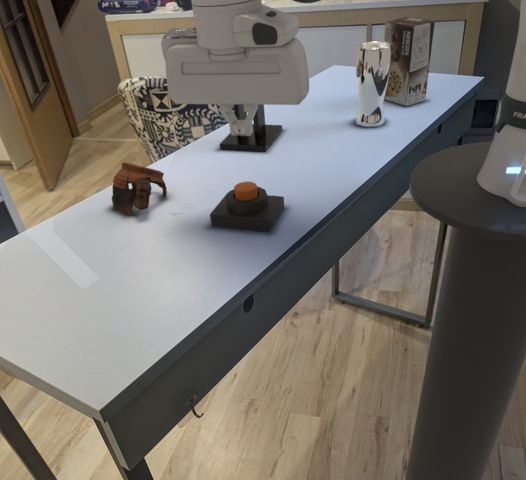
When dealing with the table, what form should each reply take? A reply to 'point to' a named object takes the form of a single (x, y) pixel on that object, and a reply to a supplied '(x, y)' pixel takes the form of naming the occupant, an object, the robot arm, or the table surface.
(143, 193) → the brown arched piece
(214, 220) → the control block
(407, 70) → the coffee box
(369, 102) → the beer glass
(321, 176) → the table surface
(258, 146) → the black headphone stand
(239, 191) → the button
